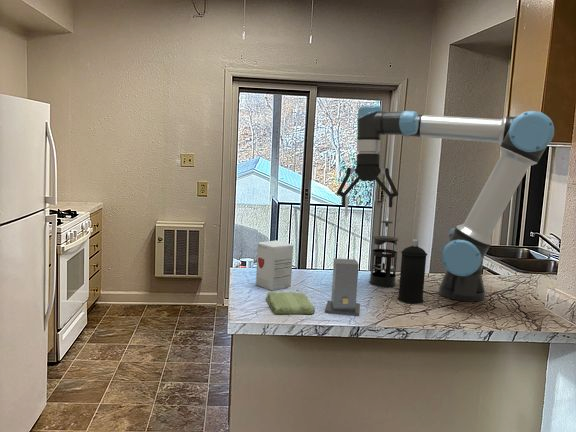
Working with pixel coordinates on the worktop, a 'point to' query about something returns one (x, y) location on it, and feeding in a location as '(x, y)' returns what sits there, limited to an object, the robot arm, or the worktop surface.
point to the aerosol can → (412, 274)
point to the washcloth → (289, 303)
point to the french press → (383, 277)
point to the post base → (344, 312)
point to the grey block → (344, 284)
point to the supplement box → (274, 265)
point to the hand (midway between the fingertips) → (366, 216)
